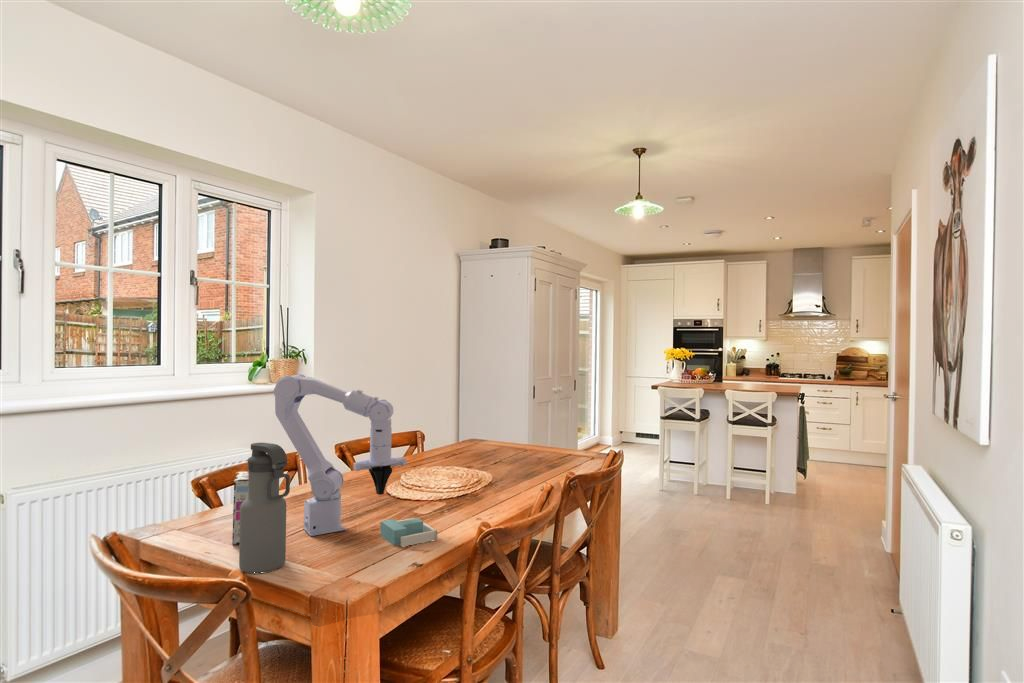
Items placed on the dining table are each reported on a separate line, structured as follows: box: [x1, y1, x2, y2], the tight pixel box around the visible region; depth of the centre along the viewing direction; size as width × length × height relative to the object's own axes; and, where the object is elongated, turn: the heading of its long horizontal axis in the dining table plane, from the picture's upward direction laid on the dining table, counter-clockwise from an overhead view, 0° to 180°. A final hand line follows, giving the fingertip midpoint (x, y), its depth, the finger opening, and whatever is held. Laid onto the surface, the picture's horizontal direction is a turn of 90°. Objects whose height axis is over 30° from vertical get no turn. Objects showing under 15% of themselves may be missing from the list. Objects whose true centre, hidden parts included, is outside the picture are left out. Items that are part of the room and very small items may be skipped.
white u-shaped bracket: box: [396, 517, 438, 548], centre depth 152 cm, size 10×13×2 cm
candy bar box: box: [231, 470, 248, 546], centre depth 149 cm, size 11×5×16 cm, turn 21°
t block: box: [379, 517, 424, 547], centre depth 151 cm, size 10×9×4 cm
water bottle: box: [238, 442, 291, 574], centre depth 131 cm, size 10×10×28 cm
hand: (380, 493), depth 157 cm, fingers closed
